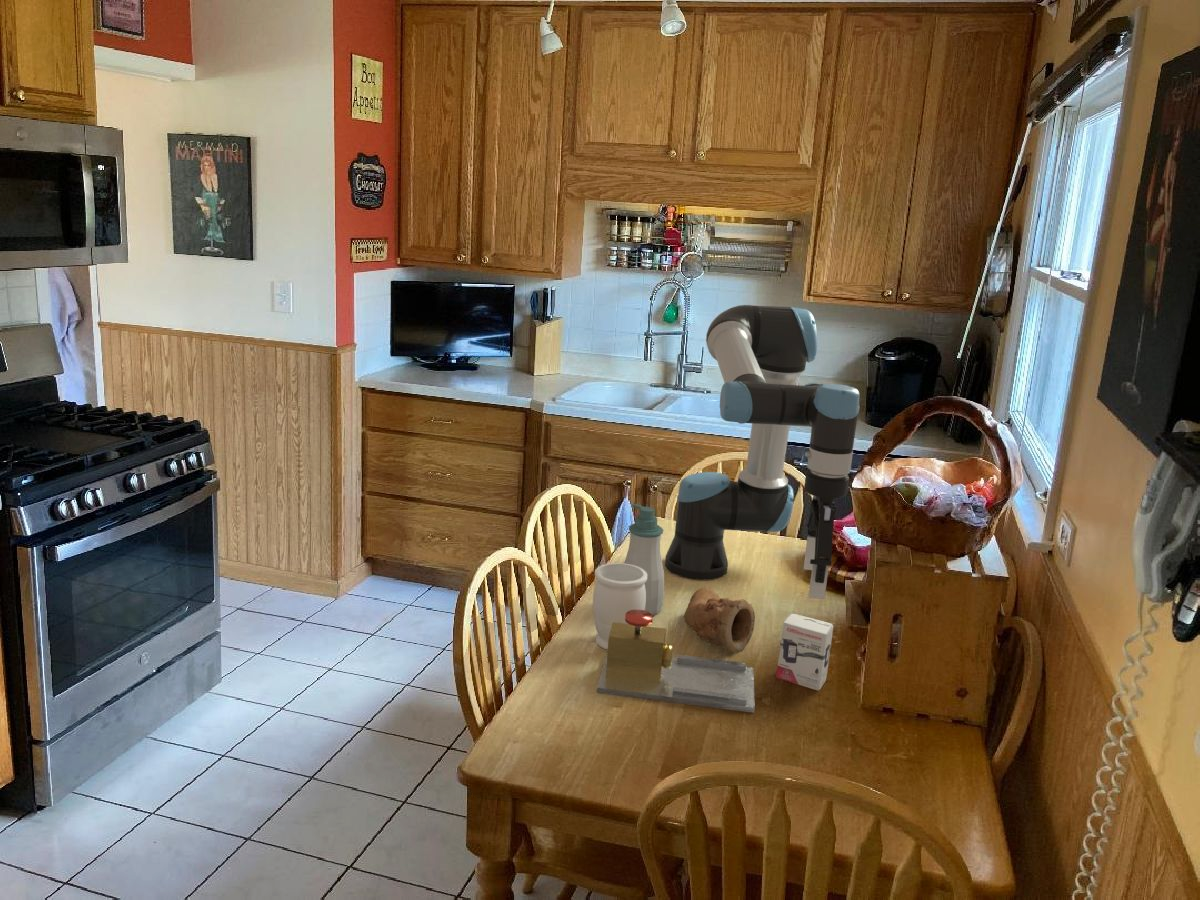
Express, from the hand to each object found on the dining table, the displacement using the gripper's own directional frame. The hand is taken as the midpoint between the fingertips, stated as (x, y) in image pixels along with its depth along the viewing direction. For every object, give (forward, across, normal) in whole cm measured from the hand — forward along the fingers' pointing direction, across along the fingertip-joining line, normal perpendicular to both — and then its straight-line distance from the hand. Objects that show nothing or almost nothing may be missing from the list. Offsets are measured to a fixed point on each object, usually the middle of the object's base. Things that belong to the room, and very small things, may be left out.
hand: (813, 583), depth 173 cm
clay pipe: (+20, -14, -16) cm, 29 cm away
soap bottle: (+20, -23, -33) cm, 45 cm away
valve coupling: (+20, +7, -23) cm, 31 cm away
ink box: (+20, 0, 0) cm, 20 cm away
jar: (+20, -6, -36) cm, 42 cm away
